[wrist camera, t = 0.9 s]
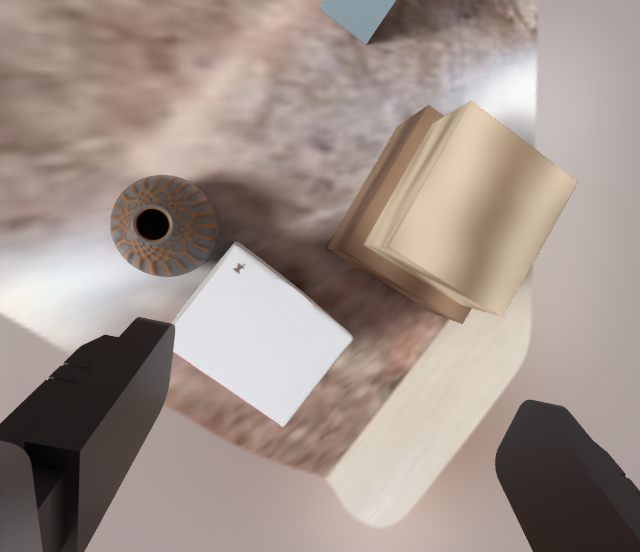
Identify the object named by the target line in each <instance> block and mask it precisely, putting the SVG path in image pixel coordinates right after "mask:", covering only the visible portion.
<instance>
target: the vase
mask: <svg viewBox="0 0 640 552" xmlns="http://www.w3.org/2000/svg"><path fill="white" fill-rule="evenodd" d="M110 225H111V234H112V238H113V241H114V243H115V245H116V247H117V249H118V251H119V252H120V253H121V255H122V256H123V257H124V258H125V259H126V260H127V261H128V262H129V263H130V264H131V265H133V266H134V267H135V268H137V269H139V270H141V271H143V272H145V273H148V274H151V275H155V276H161V277H172V276H179V275H183V274H186V273H188V272H191V271H193V270H194V269H196V268H198V267H199V266H200V265H202V264H203V263H204V262H205V261H206V260H207V259H208V257H209V256H210V255H211V253H212V251H213V250H214V248H215V245H216V243H217V239H218V233H219V223H218V217H217V214H216V211H215V208H214V206H213V204H212V203H211V201H210V199H209V198H208V197H207V196H206V194H205V193H204V192H203V191H202V190H201V189H199V188H198V187H197V186H195V185H194V184H192V183H191V182H189V181H187V180H184V179H182V178H179V177H175V176H169V175H156V176H150V177H146V178H143V179H141V180H138V181H136V182H135V183H133V184H131V185H130V186H129V187H128V188H126V189H125V190H124V191H123V192H122V194H121V195H120V196H119V197H118V199H117V201H116V203H115V205H114V207H113V210H112V214H111V223H110Z"/></svg>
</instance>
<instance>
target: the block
mask: <svg viewBox="0 0 640 552" xmlns="http://www.w3.org/2000/svg"><path fill="white" fill-rule="evenodd" d="M395 1H396V0H323V2H322V5H321V8H320V10H321V11H323V12H324V13H325V14H327V15H328V16H329V17H330V18H332V19H333V20H334V21H336V22H337V23H338V24H340V25H341V26H342V27H343V28H345V29H346V30H347V31H349V32H350V33H351V34H352V35H354V36H355V37H356V38H358V39H359V40H360V41H361V42H363V43H364V44H365V45H366V44H367V42H368V41H369V40H370V38H371V37H372V35H373V34H374V32H375V31H376V29H377V28H378V26H379V25H380V23H381V22H382V20H383V19H384V17H385V16H386V14H387V13H388V11H389V10H390V8H391V7H392V6H393V4H394V3H395Z"/></svg>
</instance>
